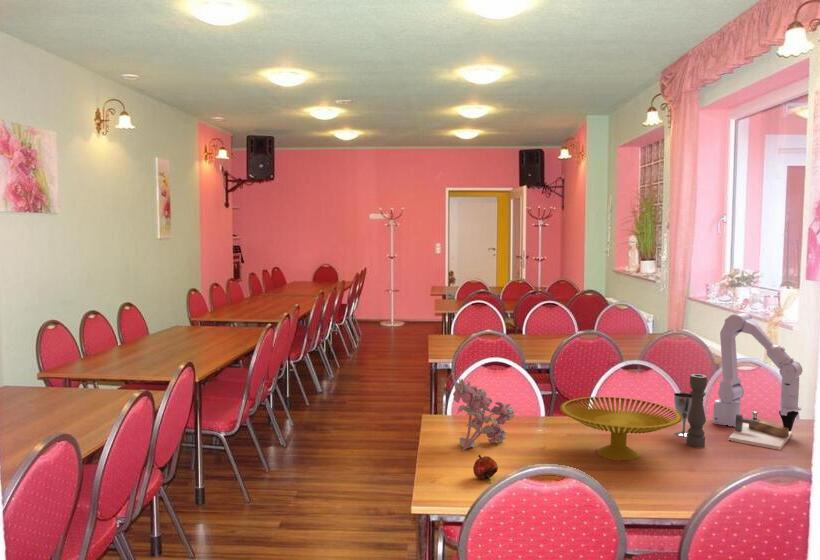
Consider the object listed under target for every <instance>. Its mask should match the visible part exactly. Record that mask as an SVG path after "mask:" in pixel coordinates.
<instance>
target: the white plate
mask: <svg viewBox="0 0 820 560" xmlns="http://www.w3.org/2000/svg"><path fill="white" fill-rule="evenodd" d="M792 435H793V431H792V430H791V431H789V434H788V437H780V436H776V435H773V434H770V433H766V432H763V431H759V430H756V429H751V428H749V423H743V425H742V431H741V432H739V431H735V430H734V432H732V434H730V435H729V436H728V441H729V440H731V441H730V442H734V441H735V443H741V444H744V445H745V444H746V445H750V444H751V445H752V446H757V447H762V448H768V449H774V450H778V451H781V449H782V448H783V447H784V446H785V444H786V443H787V442H788V440H789V439H791V437H792Z"/></svg>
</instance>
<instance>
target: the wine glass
mask: <svg viewBox="0 0 820 560" xmlns="http://www.w3.org/2000/svg"><path fill="white" fill-rule="evenodd" d="M691 404H692V396H691V394H690V392H681V391H680V392H675V393H673V405H674V410H676V411H677V412H678V413H681V414H680V415H682V418H683V419H682V420H681V422H682V431H674V432H673V435H674V436H676V437H679V436H680V437H681V438H687V434H688V431H686V422H687V421H688V420H687V419H688V414H689V411H690V407H691Z"/></svg>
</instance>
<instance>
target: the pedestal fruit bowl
mask: <svg viewBox="0 0 820 560" xmlns="http://www.w3.org/2000/svg"><path fill="white" fill-rule="evenodd" d="M609 398H610V399H609ZM604 399H605V400H604ZM600 401H601V402H600ZM605 401H606V402H605ZM596 402H597V403H596ZM615 402H616V403H615ZM635 402H636V403H635ZM588 403H589V404H588ZM640 403H641V404H640ZM593 404H594V405H593ZM606 404H607V405H606ZM615 404H616V407H615ZM624 404H625V407H624ZM629 404H630V406H629ZM639 404H640V405H639ZM645 404H646V405H645ZM644 405H645V406H644ZM633 407H634V408H633ZM628 408H629V409H628ZM559 410H560V411H561V413H563V414H564V415H565V416H567V417H569V418H571V419H573V420H574V421H575V422H576V421H577V422H579V424H582V425H584V426H586V427H590V428H591V429H595V430H601V432H602V431H603V432H604V431H605V432H609V433H610V444H608V445H606V446H603V447H600V448H598V449H597V450H596V453H597V454H598V455H599V456H600V457H602V458H604V459H609V460H612V461H620V460H630V461H634V459H635V460H638V459H639V458H640V454H639V452H637V451H635V450H634V449H633V448H630V447H629V446H627V437H628V435H627V434H629V433H630V434H635V435H637V434H647V433H653V432H657V431H659V430H663V429H666V428H670V427H673V426H675V425H677V424H680V422H682V419H683V418H682V415H680V414H681V413H678V412H677V411H676V409H674V408H672V407H670V406H667V405H663V404H661V403H660V404H659V403H657V402H653V401H648V400H644V399H637V398H630V397H629V398H627V397H621V396H620V397H617V396H588V397H587V396H586V397H579V398H571V399H569V400H565V401H564V402H563V403H561V404H560V405H559ZM637 458H638V459H637Z"/></svg>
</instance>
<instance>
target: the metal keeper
mask: <svg viewBox="0 0 820 560" xmlns="http://www.w3.org/2000/svg"><path fill="white" fill-rule="evenodd" d="M759 420H760V419H759ZM759 420H753V418H746V417H744V414H741V413H740V414H737V415H736V426H735V427H734V428H735V429H734V432H735V431H739V432H741V431H742V425H743V423H745V424H755V425H758V424H759Z"/></svg>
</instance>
